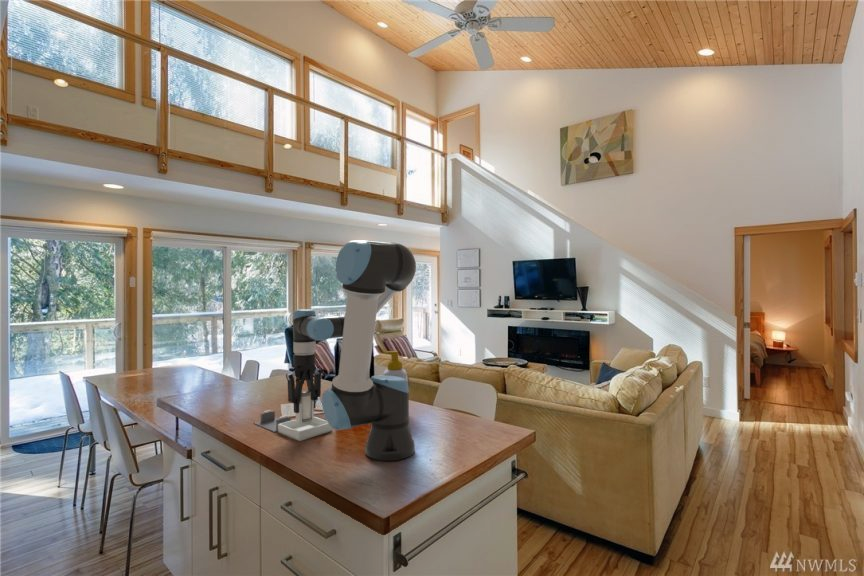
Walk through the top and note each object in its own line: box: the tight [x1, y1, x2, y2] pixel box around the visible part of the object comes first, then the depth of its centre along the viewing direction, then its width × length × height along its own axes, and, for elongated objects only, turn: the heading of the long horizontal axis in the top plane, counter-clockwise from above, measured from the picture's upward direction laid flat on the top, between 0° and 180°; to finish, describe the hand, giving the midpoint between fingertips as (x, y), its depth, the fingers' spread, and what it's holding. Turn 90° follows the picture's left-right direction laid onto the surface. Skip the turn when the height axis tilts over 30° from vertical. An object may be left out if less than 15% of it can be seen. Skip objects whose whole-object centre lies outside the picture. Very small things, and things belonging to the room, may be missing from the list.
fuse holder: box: [253, 409, 292, 433], centre depth 158 cm, size 15×9×4 cm, turn 50°
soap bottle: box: [382, 350, 407, 380], centre depth 170 cm, size 9×9×25 cm
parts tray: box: [277, 416, 333, 442], centre depth 151 cm, size 13×13×3 cm
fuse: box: [300, 390, 311, 422], centre depth 151 cm, size 4×4×10 cm
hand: (304, 419), depth 151 cm, fingers closed on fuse, 4 cm apart
